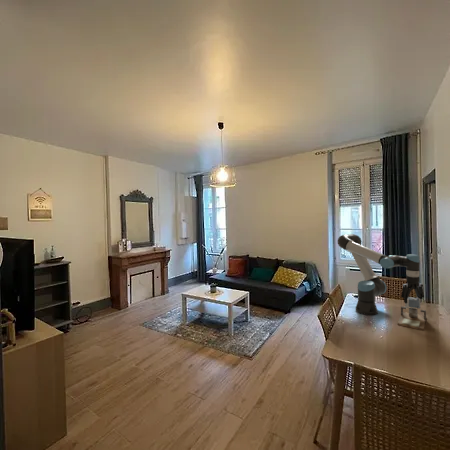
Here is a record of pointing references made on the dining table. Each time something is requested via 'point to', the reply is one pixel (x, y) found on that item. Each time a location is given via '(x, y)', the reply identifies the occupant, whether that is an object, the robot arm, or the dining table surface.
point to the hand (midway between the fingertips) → (412, 307)
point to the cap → (414, 302)
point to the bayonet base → (412, 318)
